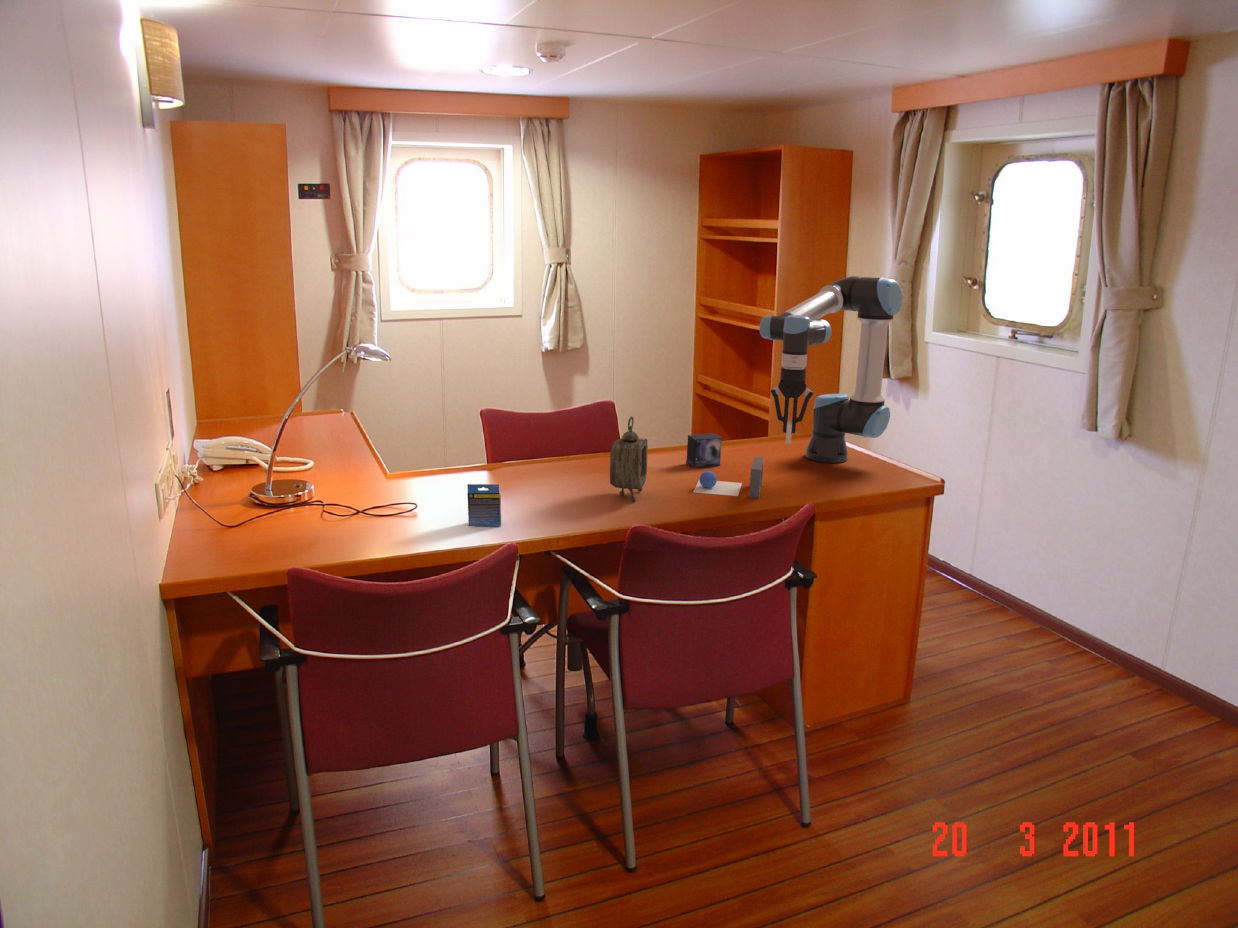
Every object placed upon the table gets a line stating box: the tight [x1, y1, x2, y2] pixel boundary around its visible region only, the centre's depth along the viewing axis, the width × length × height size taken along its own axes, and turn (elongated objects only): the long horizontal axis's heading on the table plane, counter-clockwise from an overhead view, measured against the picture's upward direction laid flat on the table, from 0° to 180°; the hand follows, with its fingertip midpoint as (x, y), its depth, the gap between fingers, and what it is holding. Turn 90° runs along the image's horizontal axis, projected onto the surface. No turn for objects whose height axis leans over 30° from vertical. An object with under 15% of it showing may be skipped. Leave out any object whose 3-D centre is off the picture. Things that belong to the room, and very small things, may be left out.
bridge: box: [748, 456, 765, 499], centre depth 281 cm, size 3×14×9 cm, turn 168°
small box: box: [685, 432, 723, 469], centre depth 310 cm, size 11×6×10 cm, turn 112°
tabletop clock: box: [609, 416, 648, 503], centre depth 272 cm, size 14×9×25 cm, turn 168°
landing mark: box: [692, 479, 743, 497], centre depth 285 cm, size 14×14×1 cm
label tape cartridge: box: [466, 483, 502, 527], centre depth 246 cm, size 9×4×12 cm, turn 92°
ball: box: [699, 470, 718, 488], centre depth 284 cm, size 6×6×6 cm
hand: (788, 443), depth 276 cm, fingers closed
